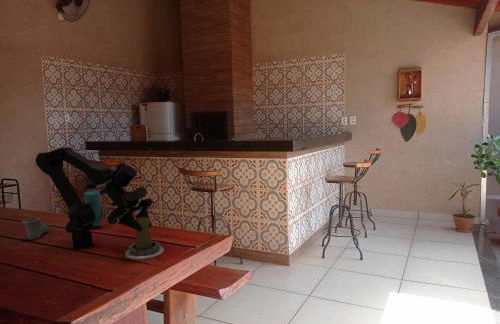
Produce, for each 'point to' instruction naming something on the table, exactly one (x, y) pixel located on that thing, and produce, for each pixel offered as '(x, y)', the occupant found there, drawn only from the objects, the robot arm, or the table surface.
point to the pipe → (35, 228)
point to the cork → (143, 234)
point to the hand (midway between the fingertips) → (146, 228)
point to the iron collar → (144, 251)
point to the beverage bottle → (94, 202)
